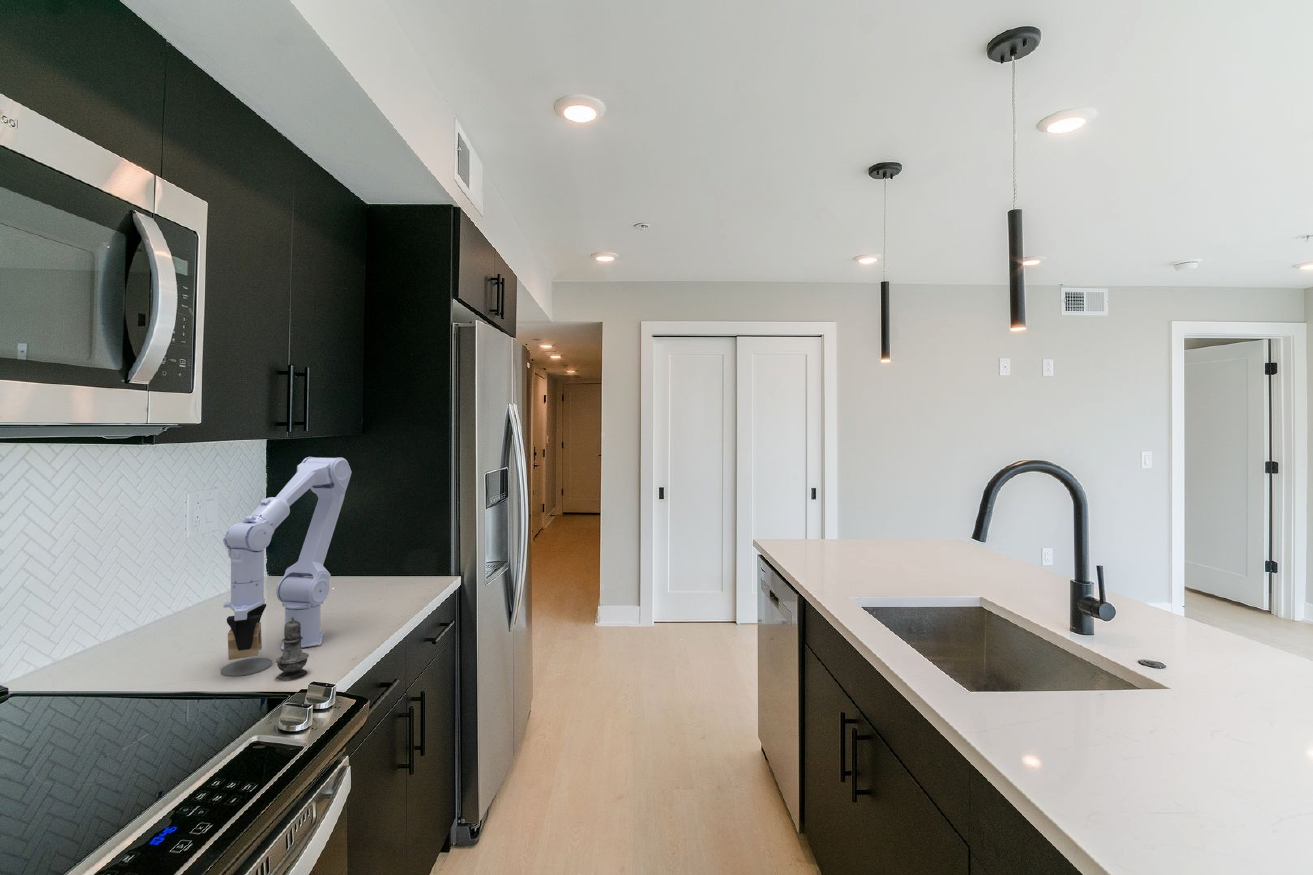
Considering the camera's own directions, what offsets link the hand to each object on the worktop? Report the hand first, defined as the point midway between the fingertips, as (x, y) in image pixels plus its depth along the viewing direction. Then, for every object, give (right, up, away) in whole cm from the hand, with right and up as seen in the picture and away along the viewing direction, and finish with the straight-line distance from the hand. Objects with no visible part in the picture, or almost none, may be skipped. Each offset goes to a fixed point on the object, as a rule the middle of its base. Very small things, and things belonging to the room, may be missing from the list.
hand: (247, 644), depth 125 cm
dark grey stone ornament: (+12, -5, -3) cm, 13 cm away
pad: (0, -5, 0) cm, 5 cm away
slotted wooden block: (0, -2, 0) cm, 2 cm away
